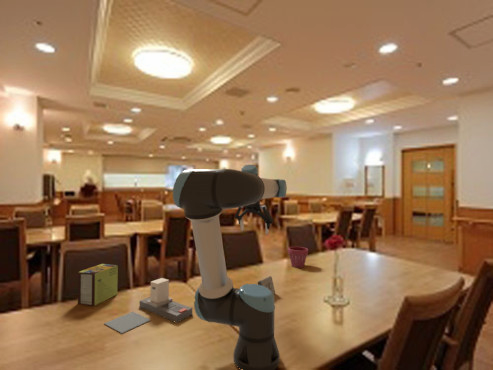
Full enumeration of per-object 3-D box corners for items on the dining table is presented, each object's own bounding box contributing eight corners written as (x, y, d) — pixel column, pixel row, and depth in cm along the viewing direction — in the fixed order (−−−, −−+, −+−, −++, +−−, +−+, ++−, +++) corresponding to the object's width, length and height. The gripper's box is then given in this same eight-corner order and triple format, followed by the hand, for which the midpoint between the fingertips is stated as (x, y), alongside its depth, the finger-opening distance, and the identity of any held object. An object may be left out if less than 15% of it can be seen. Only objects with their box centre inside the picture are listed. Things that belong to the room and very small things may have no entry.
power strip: (192, 314, 121) (192, 305, 121) (176, 322, 114) (176, 312, 114) (155, 300, 136) (155, 292, 136) (139, 307, 129) (139, 298, 129)
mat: (150, 320, 116) (150, 319, 116) (121, 333, 105) (121, 332, 105) (132, 312, 123) (132, 311, 123) (104, 324, 112) (104, 323, 112)
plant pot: (310, 265, 201) (310, 247, 201) (303, 269, 189) (304, 251, 189) (292, 262, 209) (292, 245, 209) (285, 266, 197) (285, 249, 197)
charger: (168, 301, 128) (168, 279, 129) (157, 306, 123) (157, 283, 123) (161, 298, 131) (162, 277, 131) (150, 303, 126) (150, 281, 126)
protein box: (117, 294, 144) (118, 264, 144) (94, 306, 129) (94, 273, 130) (101, 292, 147) (102, 263, 147) (77, 303, 132) (77, 271, 132)
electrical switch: (265, 299, 139) (264, 280, 140) (257, 297, 142) (256, 279, 143) (275, 293, 146) (274, 276, 147) (267, 292, 150) (266, 275, 150)
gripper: (278, 194, 130) (279, 230, 140) (231, 189, 139) (235, 223, 148) (274, 202, 124) (276, 239, 134) (225, 196, 133) (229, 231, 142)
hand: (254, 231), depth 141 cm, fingers open, 13 cm apart
